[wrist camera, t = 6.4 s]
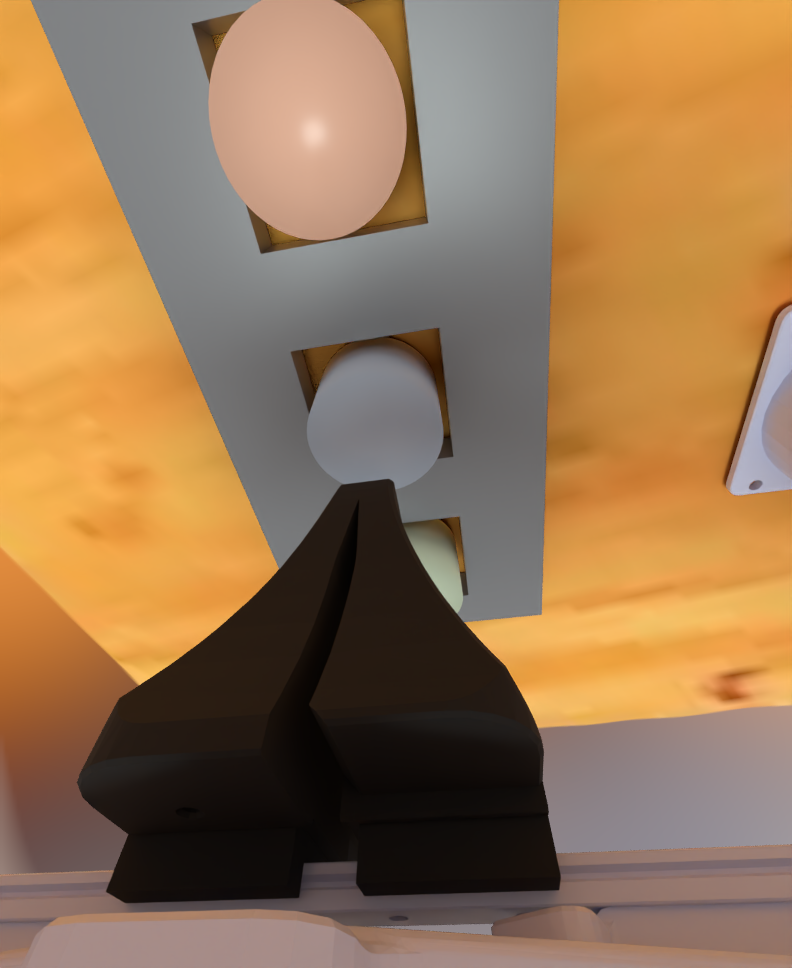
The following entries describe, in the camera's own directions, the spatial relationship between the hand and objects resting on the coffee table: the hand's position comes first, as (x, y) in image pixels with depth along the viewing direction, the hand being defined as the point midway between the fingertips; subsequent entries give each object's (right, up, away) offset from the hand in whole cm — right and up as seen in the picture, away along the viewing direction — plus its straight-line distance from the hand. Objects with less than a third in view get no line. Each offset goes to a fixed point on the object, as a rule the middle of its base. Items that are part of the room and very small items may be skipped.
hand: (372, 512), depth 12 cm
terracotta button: (-1, +11, +1) cm, 11 cm away
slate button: (0, +4, +6) cm, 7 cm away
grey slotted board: (0, +4, +6) cm, 7 cm away
